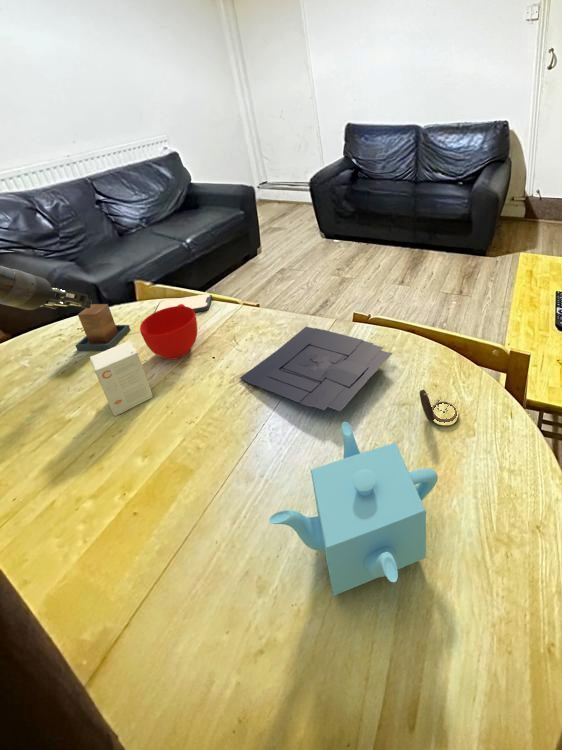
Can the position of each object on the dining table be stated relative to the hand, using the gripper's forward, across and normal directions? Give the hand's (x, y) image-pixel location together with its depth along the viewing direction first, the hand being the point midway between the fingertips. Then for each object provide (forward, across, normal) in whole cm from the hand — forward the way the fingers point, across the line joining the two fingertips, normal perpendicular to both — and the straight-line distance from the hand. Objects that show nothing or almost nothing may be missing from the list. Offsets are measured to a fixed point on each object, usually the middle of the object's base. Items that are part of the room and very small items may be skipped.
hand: (73, 304), depth 105 cm
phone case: (+26, -15, -4) cm, 30 cm away
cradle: (+14, 0, +7) cm, 16 cm away
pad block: (+14, 0, +7) cm, 15 cm away
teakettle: (-23, -77, +44) cm, 91 cm away
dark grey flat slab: (+5, -63, +16) cm, 65 cm away
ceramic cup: (+12, -23, +9) cm, 28 cm away
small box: (-1, -21, +23) cm, 31 cm away
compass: (-4, -91, +26) cm, 95 cm away
